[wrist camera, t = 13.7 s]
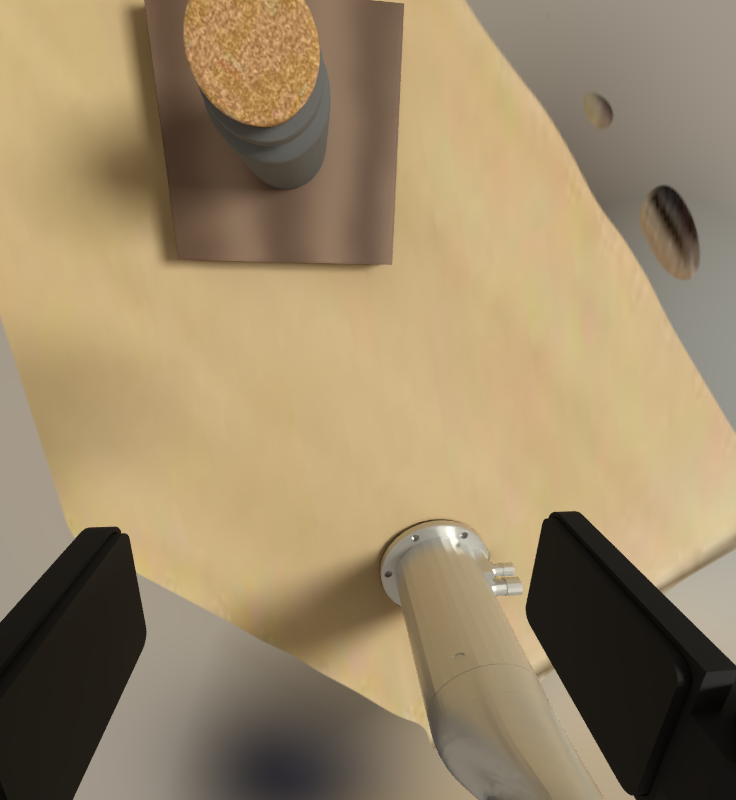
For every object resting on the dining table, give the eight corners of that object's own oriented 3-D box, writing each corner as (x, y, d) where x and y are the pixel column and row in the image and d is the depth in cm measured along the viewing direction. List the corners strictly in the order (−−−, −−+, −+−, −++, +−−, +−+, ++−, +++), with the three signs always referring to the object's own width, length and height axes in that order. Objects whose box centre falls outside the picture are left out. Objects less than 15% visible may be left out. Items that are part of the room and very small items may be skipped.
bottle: (342, 155, 29) (368, 73, 15) (278, 207, 30) (245, 177, 16) (289, 71, 27) (260, -115, 13) (221, 130, 27) (125, 15, 14)
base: (395, 26, 29) (404, 3, 26) (386, 262, 35) (392, 264, 32) (159, 4, 27) (141, -23, 24) (190, 258, 33) (178, 259, 30)
